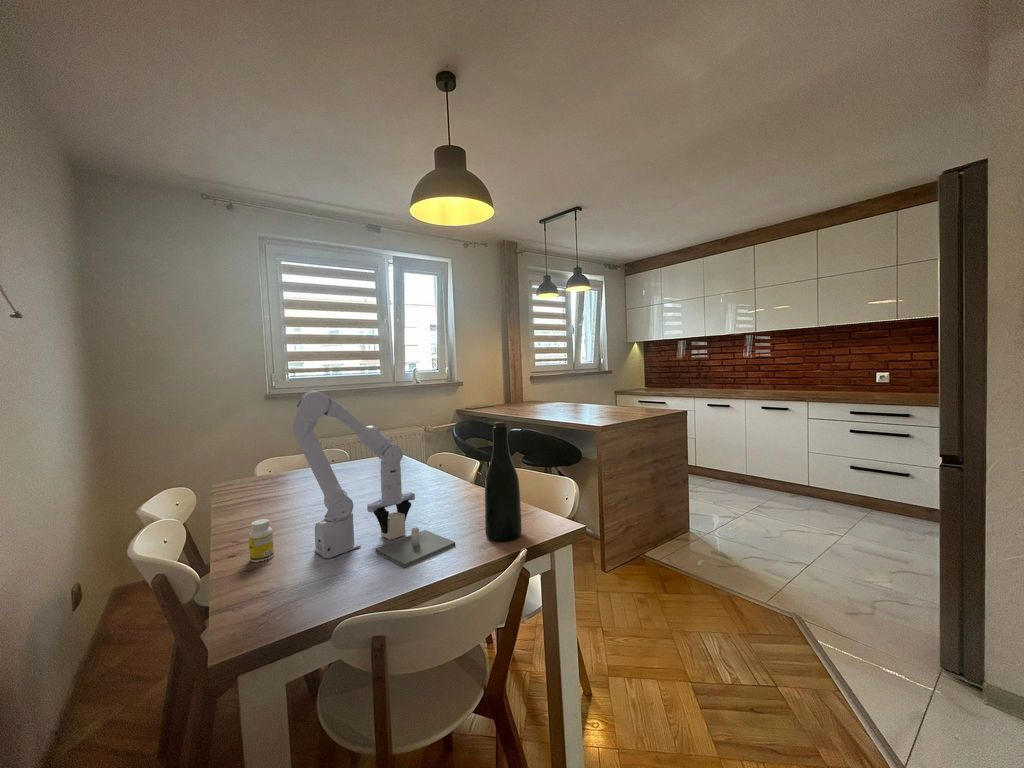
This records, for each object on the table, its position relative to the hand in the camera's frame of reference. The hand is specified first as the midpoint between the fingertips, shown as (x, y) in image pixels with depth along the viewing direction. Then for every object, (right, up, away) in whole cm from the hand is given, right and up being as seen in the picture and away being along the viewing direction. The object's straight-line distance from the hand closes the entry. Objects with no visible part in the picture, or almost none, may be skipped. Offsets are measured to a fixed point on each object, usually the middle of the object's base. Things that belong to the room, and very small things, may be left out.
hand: (393, 529), depth 118 cm
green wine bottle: (+33, -1, -3) cm, 33 cm away
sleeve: (0, -2, 0) cm, 2 cm away
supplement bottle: (-31, -3, -12) cm, 34 cm away
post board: (+9, -2, -9) cm, 13 cm away
